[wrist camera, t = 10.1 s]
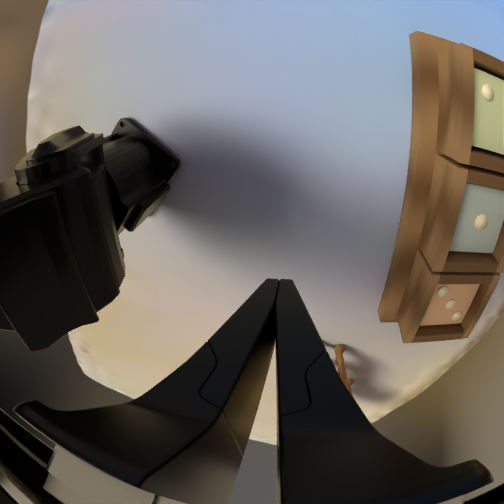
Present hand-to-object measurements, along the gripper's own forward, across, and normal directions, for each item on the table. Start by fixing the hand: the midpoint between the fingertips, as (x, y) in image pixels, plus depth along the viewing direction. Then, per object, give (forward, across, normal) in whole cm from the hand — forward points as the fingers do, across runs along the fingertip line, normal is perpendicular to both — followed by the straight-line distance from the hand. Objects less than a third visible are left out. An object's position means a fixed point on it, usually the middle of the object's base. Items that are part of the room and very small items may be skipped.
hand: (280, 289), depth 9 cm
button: (+10, -13, +1) cm, 17 cm away
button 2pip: (+10, -13, -7) cm, 18 cm away
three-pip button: (+10, -13, +8) cm, 19 cm away
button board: (+12, -13, +1) cm, 18 cm away
